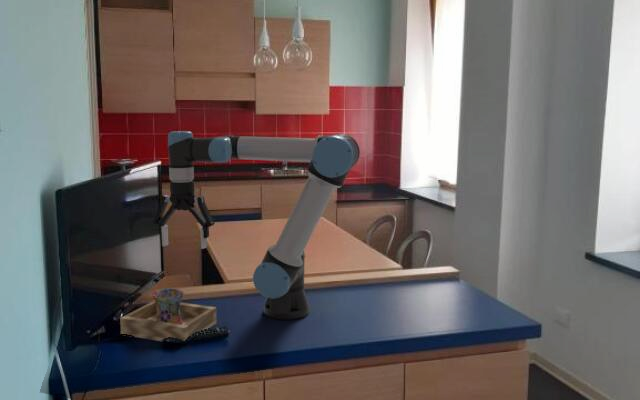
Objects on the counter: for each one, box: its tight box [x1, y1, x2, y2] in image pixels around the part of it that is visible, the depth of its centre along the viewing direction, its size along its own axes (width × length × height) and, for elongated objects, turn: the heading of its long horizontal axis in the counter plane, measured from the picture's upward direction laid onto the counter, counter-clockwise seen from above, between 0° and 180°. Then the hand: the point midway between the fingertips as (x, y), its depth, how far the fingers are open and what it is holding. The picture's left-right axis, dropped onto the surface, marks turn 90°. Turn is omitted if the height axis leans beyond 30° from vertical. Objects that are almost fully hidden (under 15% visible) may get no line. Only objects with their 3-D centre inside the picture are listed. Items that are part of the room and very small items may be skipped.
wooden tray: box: [119, 299, 218, 342], centre depth 187 cm, size 22×19×5 cm
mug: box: [151, 288, 185, 325], centre depth 186 cm, size 12×9×11 cm
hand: (184, 246), depth 193 cm, fingers open, 13 cm apart
